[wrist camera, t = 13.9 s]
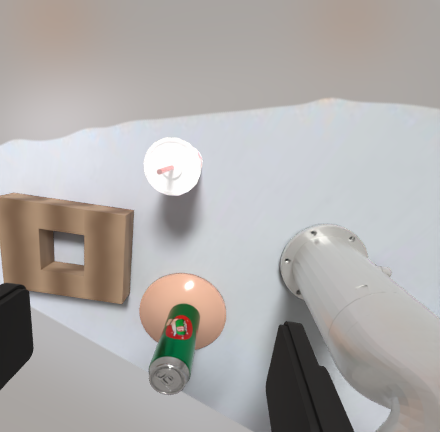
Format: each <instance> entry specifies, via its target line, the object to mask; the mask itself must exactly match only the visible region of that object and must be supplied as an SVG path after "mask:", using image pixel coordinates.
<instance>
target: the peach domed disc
mask: <svg viewBox="0 0 440 432" xmlns="http://www.w3.org/2000/svg"><path fill="white" fill-rule="evenodd" d="M183 303H184V304H189V305H192V306H194V307H195V308H196V309H197V310H198V312H199V314H200V323H199V329H198V335H197V341H196V346H195V350H196V349H200V348H203V347H205V346H207V345H209V344H210V343H212V342H213V341H214V340H215V339H217V337H218V336H219V335H220V333H221V332H222V330H223V328H224V325H225V321H226V307H225V303H224V300H223V298H222V296H221V294H220V293H219V291H218V290H217V289H216V288H215V287H214V286H213V285H212V284H211V283H210V282H208V281H207V280H205V279H203V278H201V277H199V276H196V275H192V274H187V273H175V274H169V275H166V276H163V277H161V278H159V279H158V280H156V281H155V282H153V283H152V284H151V285H150V286H149V287H148V289H147V290H146V292H145V293H144V295H143V297H142V299H141V303H140V319H141V322H142V324H143V327H144V328H145V330H146V332H147V333H148V334H149V335H150V336H151V337H152V338H153V339H154V340H155V341H157V342H159V339H160V336H161V333H162V331H163V328H164V325H165V323H166V320H167V317H168V314H169V312H170V310H171V309H172V308H173V307H174V306H175V305H178V304H183Z"/></svg>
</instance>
